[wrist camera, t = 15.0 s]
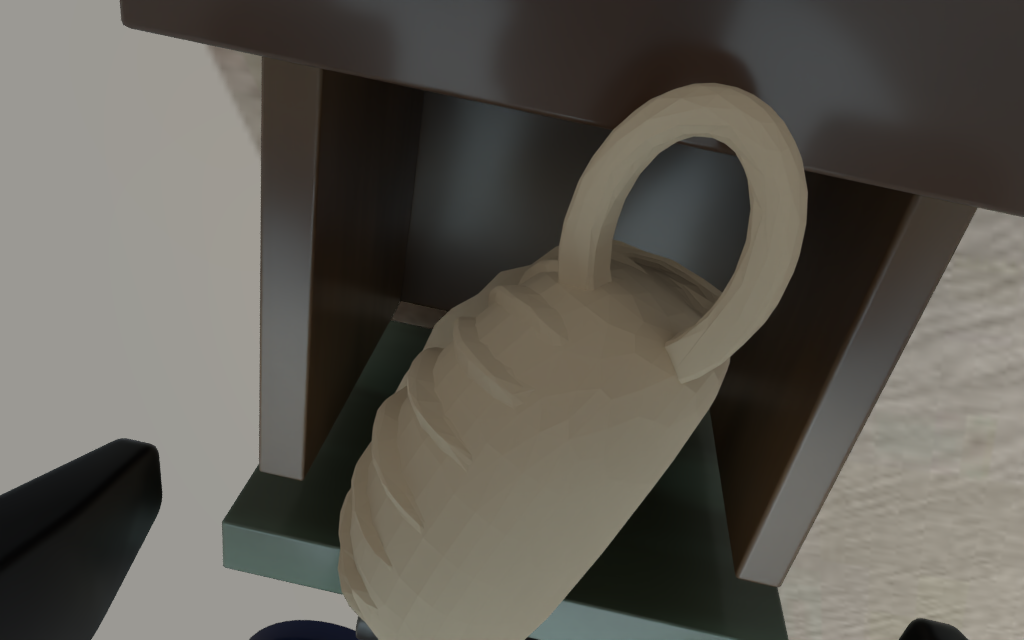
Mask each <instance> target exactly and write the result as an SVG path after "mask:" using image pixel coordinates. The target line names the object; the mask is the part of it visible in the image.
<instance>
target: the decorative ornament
mask: <svg viewBox="0 0 1024 640" xmlns="http://www.w3.org/2000/svg"><path fill="white" fill-rule="evenodd" d="M694 136H696V137H709V138H714V139H716V140H718V141H720V142H723V143H725V144H726V145H727V146H728V147H730V148H731V149H732V150H733V151H734V152H735V153H736V155H737V157H738V159H739V160H740V162H741V164H742V166H743V168H744V170H745V173H746V176H747V179H748V188H749V198H750V208H751V210H750V216H749V223H748V230H747V237H746V242H745V245H744V248H743V250H742V253H741V256H740V259H739V261H738V264H737V267H736V270H735V272H734V274H733V276H732V278H731V279H730V281H729V283H728V284H727V286H726V288H725V289H724V291H723V293H722V292H721V291H720V290H718V289H717V288H715V287H714V286H713V285H711V284H710V283H709V282H707V281H706V280H704V279H703V278H701V277H700V276H698V275H696V274H695V273H693V272H691V271H690V270H688V269H687V268H685V267H683V266H682V265H680V264H678V263H677V262H675V261H673V260H671V259H668V258H665V257H662V256H658V255H655V254H652V253H649V252H646V251H643V250H640V249H638V248H636V247H633V246H631V245H629V244H626V243H624V242H621V241H618V240H613V236H614V232H615V229H616V225H617V221H618V218H619V216H620V213H621V210H622V207H623V204H624V202H625V199H626V197H627V196H628V194H629V192H630V190H631V189H632V187H633V185H634V184H635V182H636V180H637V178H638V177H639V175H640V174H641V173H642V171H643V170H644V169H645V168H646V167H647V166H648V165H649V164H650V163H651V162H652V160H653V159H654V158H655V157H656V156H657V155H658V154H659V153H660V152H662V151H663V150H665V149H667V148H668V147H670V146H671V145H673V144H674V143H676V142H678V141H681V140H684V139H687V138H690V137H694ZM807 200H808V190H807V184H806V179H805V173H804V167H803V161H802V157H801V155H800V152H799V150H798V147H797V145H796V142H795V140H794V138H793V137H792V135H791V133H790V131H789V130H788V128H787V126H786V124H785V122H784V121H783V120H782V119H781V118H780V117H779V116H778V114H777V113H776V112H775V111H774V110H773V109H772V108H771V107H770V106H769V105H768V104H766V103H765V102H763V101H762V100H761V99H759V98H758V97H756V96H755V95H753V94H751V93H749V92H747V91H744V90H742V89H740V88H738V87H733V86H728V85H723V84H718V83H698V84H691V85H687V86H684V87H680V88H677V89H673V90H671V91H669V92H666V93H664V94H662V95H659V96H657V97H655V98H652V99H650V100H649V101H647V102H646V103H645V104H643V105H642V106H640V107H639V108H638V109H636V110H635V111H634V112H633V113H631V114H630V115H629V116H628V117H627V118H626V119H625V120H624V121H623V122H621V123H620V124H619V125H618V126H617V127H616V128H615V129H614V130H613V131H612V132H611V133H610V135H609V136H608V137H607V138H606V140H605V141H604V142H603V144H602V145H601V146H600V147H599V149H598V150H597V151H596V153H595V154H594V155H593V157H592V158H591V160H590V162H589V163H588V165H587V167H586V169H585V170H584V172H583V174H582V176H581V178H580V179H579V181H578V184H577V186H576V189H575V192H574V195H573V197H572V200H571V203H570V205H569V208H568V211H567V213H566V216H565V219H564V223H563V228H562V233H561V238H560V243H559V246H556V247H555V248H553V249H552V250H551V251H549V252H548V253H547V254H545V255H544V256H542V257H541V258H540V259H538V260H537V261H536V262H534V263H533V264H531V265H528V266H524V267H519V268H515V269H510V270H506V271H502V272H500V273H499V274H498V275H497V276H496V277H495V278H494V279H493V280H492V281H491V282H490V283H489V284H488V285H487V286H486V287H485V288H484V289H483V290H482V291H481V292H480V293H479V294H477V295H476V296H474V297H472V298H470V299H468V300H466V301H465V302H463V303H461V304H459V305H457V306H456V307H454V308H452V309H451V310H450V311H449V312H448V313H447V314H446V315H445V316H444V317H442V318H441V319H440V320H439V321H438V322H437V323H436V324H435V326H434V328H433V330H432V332H431V334H430V336H429V338H428V340H427V342H426V345H425V347H424V349H423V351H422V352H421V353H419V354H418V356H417V357H416V358H415V359H414V360H413V362H412V364H411V367H410V369H409V370H408V371H407V373H406V374H405V375H404V377H403V379H402V381H401V383H400V385H399V387H398V388H397V390H396V392H395V394H393V395H392V396H390V397H389V398H387V399H386V400H385V401H384V402H383V404H382V405H381V406H380V407H379V409H378V410H377V413H376V417H375V421H374V425H373V433H372V441H371V442H370V444H369V445H368V447H367V448H366V450H365V451H364V453H363V454H362V456H361V457H360V459H359V460H358V462H357V464H356V466H355V469H354V473H353V476H352V479H351V489H350V490H349V492H348V493H347V495H346V497H345V500H344V503H343V506H342V509H341V512H340V522H339V539H340V546H341V548H340V555H339V562H338V573H339V579H340V585H341V591H342V593H343V595H344V597H345V599H346V600H347V602H348V604H349V606H350V607H351V608H352V609H353V610H354V612H355V613H356V614H357V615H358V616H359V617H360V618H361V619H362V620H363V621H365V623H366V624H367V625H368V626H369V628H370V629H371V630H372V632H373V633H374V634H375V636H376V637H377V638H378V640H525V639H526V638H527V637H528V636H529V635H530V634H531V633H532V632H533V631H535V630H536V629H537V628H538V627H539V626H540V625H541V624H542V623H543V622H544V621H545V620H546V619H547V618H548V617H549V616H550V615H551V614H552V612H553V611H554V610H555V609H556V608H557V607H558V605H559V604H560V603H561V602H562V601H563V599H564V598H565V597H566V596H567V595H568V594H569V592H570V591H571V590H572V589H573V588H574V586H575V585H576V584H577V583H578V582H579V580H580V579H581V578H582V577H583V576H584V574H585V573H586V572H587V571H588V570H589V568H590V567H591V566H592V565H593V564H594V563H595V561H596V560H597V559H598V558H599V557H600V555H601V554H602V553H603V552H604V550H605V549H606V548H607V547H608V545H609V544H610V543H611V541H612V540H613V539H614V538H615V536H616V535H617V534H618V532H619V531H620V530H621V528H622V527H623V526H624V525H625V523H626V522H627V521H628V519H629V518H630V517H631V516H632V514H633V513H634V512H635V510H636V509H637V508H638V506H639V505H640V504H641V503H642V501H643V500H644V499H645V497H646V496H647V495H648V494H649V492H650V491H651V490H652V488H653V487H654V486H655V484H656V483H657V482H658V480H659V479H660V478H661V476H662V475H663V474H664V472H665V471H666V470H667V468H668V467H669V466H670V464H671V463H672V462H673V460H674V459H675V458H676V456H677V455H678V453H679V452H680V450H681V449H682V447H683V446H684V444H685V443H686V442H687V440H688V439H689V437H690V436H691V434H692V433H693V431H694V430H695V429H696V427H697V426H698V424H699V423H700V421H701V420H702V418H703V417H704V416H705V414H706V413H707V411H708V410H709V408H710V406H711V405H712V403H713V401H714V400H715V398H716V396H717V394H718V391H719V389H720V386H721V384H722V382H723V379H724V377H725V374H726V372H727V369H728V366H729V363H730V356H731V355H732V354H734V353H735V352H736V351H737V350H738V349H739V348H740V347H741V346H743V345H744V344H745V343H746V342H747V341H748V340H749V339H750V338H751V337H752V336H753V335H754V334H755V333H756V332H757V331H758V330H759V328H760V327H761V326H762V325H763V324H764V323H765V322H766V321H767V319H768V318H769V316H770V315H771V313H772V312H773V311H774V309H775V308H776V306H777V305H778V303H779V301H780V299H781V297H782V295H783V293H784V291H785V289H786V287H787V285H788V283H789V281H790V279H791V277H792V275H793V273H794V270H795V267H796V264H797V261H798V259H799V256H800V251H801V246H802V242H803V237H804V232H805V228H806V220H807Z"/></svg>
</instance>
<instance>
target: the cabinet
mask: <svg viewBox="0 0 1024 640" xmlns="http://www.w3.org/2000/svg"><path fill="white" fill-rule="evenodd" d="M120 8H121V20H122V22H123V25H125V26H127V27H129V28H131V29H137V30H141V31H146V32H151V33H155V34H160V35H165V36H170V37H174V38H179V39H184V40H188V41H193V42H198V43H202V44H207V45H212V46H217V47H221V48H226V49H231V50H235V51H240V52H245V53H250V54H254V55H259V56H264V57H269V58H273V59H278V60H283V61H287V62H292V63H297V64H302V65H306V66H311V67H316V68H321V69H325V70H330V71H335V72H339V73H344V74H349V75H354V76H358V77H363V78H368V79H373V80H377V81H382V82H387V83H392V84H396V85H401V86H406V87H410V88H415V89H420V90H425V91H429V92H434V93H439V94H444V95H448V96H453V97H458V98H462V99H467V100H472V101H477V102H481V103H486V104H491V105H496V106H500V107H505V108H510V109H514V110H519V111H524V112H529V113H533V114H538V115H543V116H548V117H552V118H557V119H562V120H566V121H571V122H576V123H581V124H585V125H590V126H595V127H600V128H604V129H609V130H614V129H615V128H616V127H617V126H618V125H619V124H620V123H621V122H623V121H624V120H625V119H626V118H627V117H628V116H629V115H630V114H631V113H633V112H634V111H635V110H636V109H638V108H639V107H640V106H642V105H643V104H645V103H646V102H647V101H649V100H650V99H652V98H655V97H657V96H659V95H662V94H664V93H666V92H669V91H671V90H673V89H677V88H680V87H684V86H687V85H691V84H698V83H718V84H723V85H728V86H733V87H738V88H740V89H742V90H744V91H747V92H749V93H751V94H753V95H755V96H756V97H758V98H759V99H761V100H762V101H763V102H765V103H766V104H768V105H769V106H770V107H771V108H772V109H773V110H774V111H775V112H776V113H777V114H778V116H779V117H780V118H781V119H782V120H783V121H784V122H785V124H786V126H787V128H788V130H789V131H790V133H791V135H792V137H793V138H794V140H795V142H796V145H797V147H798V150H799V152H800V155H801V157H802V161H803V167H804V171H808V172H812V173H817V174H822V175H826V176H831V177H836V178H841V179H845V180H850V181H855V182H860V183H864V184H869V185H874V186H878V187H883V188H888V189H893V190H897V191H902V192H907V193H912V194H916V195H921V196H926V197H930V198H935V199H940V200H945V201H949V202H954V203H959V204H964V205H968V206H973V207H978V208H982V209H987V210H992V211H997V212H1001V213H1006V214H1011V215H1016V216H1020V217H1024V0H120ZM675 144H680V145H685V146H689V147H694V148H699V149H704V150H708V151H713V152H718V153H722V154H727V155H732V156H737V155H736V153H735V152H734V151H733V150H732V149H731V148H730V147H728V146H727V145H726V144H725V143H723V142H720V141H718V140H716V139H714V138H709V137H696V136H694V137H690V138H687V139H684V140H681V141H678V142H676V143H675Z"/></svg>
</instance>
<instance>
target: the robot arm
mask: <svg viewBox="0 0 1024 640" xmlns="http://www.w3.org/2000/svg"><path fill="white" fill-rule="evenodd" d="M161 502H162V485H161V473H160V462H159V453H158V450H157V448H156V447H155V446H154V445H152V444H149V443H145V442H140V441H136V440H131V439H126V438H124V439H123V438H122V439H118V440H115V441H113V442H110V443H108V444H106V445H104V446H102V447H100V448H98V449H96V450H94V451H92V452H89V453H87V454H85V455H83V456H81V457H79V458H77V459H75V460H73V461H71V462H69V463H67V464H65V465H63V466H60V467H58V468H56V469H54V470H52V471H50V472H48V473H46V474H44V475H42V476H40V477H37V478H35V479H33V480H31V481H29V482H27V483H25V484H23V485H21V486H19V487H17V488H15V489H13V490H11V491H8V492H6V493H4V494H2V495H0V640H91V639H92V637H93V636H94V634H95V632H96V631H97V629H98V627H99V625H100V624H101V622H102V620H103V618H104V616H105V615H106V613H107V611H108V609H109V607H110V605H111V603H112V601H113V599H114V597H115V596H116V594H117V592H118V590H119V588H120V586H121V584H122V582H123V580H124V578H125V576H126V574H127V572H128V571H129V569H130V567H131V565H132V563H133V561H134V559H135V557H136V555H137V553H138V551H139V549H140V547H141V546H142V544H143V542H144V540H145V538H146V536H147V534H148V532H149V530H150V528H151V526H152V524H153V522H154V521H155V519H156V517H157V514H158V512H159V509H160V506H161ZM899 640H968V639H967V638H966V637H965V636H964V635H963V634H962V633H961V632H960V631H959V630H958V629H957V628H955V627H954V626H951V625H949V624H945V623H941V622H936V621H932V620H928V619H923V618H918V619H916V620H914V621H912V622H911V623H910V624H909V625H908V627H907V628H906V630H905V631H904V633H903V634H902V636H901V637H900V639H899Z"/></svg>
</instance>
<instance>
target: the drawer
mask: <svg viewBox="0 0 1024 640" xmlns="http://www.w3.org/2000/svg"><path fill="white" fill-rule="evenodd" d="M612 131H613V130H609V129H604V128H600V127H595V126H590V125H585V124H581V123H576V122H571V121H566V120H562V119H557V118H552V117H548V116H543V115H538V114H533V113H529V112H524V111H519V110H514V109H510V108H505V107H500V106H496V105H491V104H486V103H481V102H477V101H472V100H467V99H462V98H458V97H453V96H448V95H444V94H439V93H434V92H429V91H425V90H420V89H415V88H410V87H406V86H401V85H396V84H392V83H387V82H382V81H377V80H373V79H368V78H363V77H358V76H354V75H349V74H344V73H339V72H335V71H330V70H325V69H321V68H316V67H311V66H306V65H302V64H297V63H292V62H287V61H283V60H278V59H273V58H269V57H264V56H262V119H261V269H260V270H261V271H260V272H261V273H260V421H259V423H260V424H259V428H260V429H259V430H260V431H259V436H260V437H259V465H258V466H257V468H256V469H255V471H254V473H253V474H252V476H251V477H250V479H249V480H248V482H247V484H246V485H245V487H244V489H243V490H242V491H241V493H240V495H239V496H238V498H237V499H236V501H235V502H234V504H233V506H232V507H231V509H230V510H229V512H228V514H227V515H226V517H225V518H224V520H223V521H222V535H223V566H224V567H225V568H230V569H234V570H238V571H243V572H247V573H251V574H256V575H260V576H264V577H269V578H273V579H277V580H282V581H286V582H290V583H295V584H299V585H304V586H308V587H313V588H317V589H321V590H325V591H330V592H334V593H338V594H343V593H342V591H341V585H340V579H339V573H338V562H339V555H340V548H341V546H340V539H339V522H340V512H341V509H342V506H343V503H344V500H345V497H346V495H347V493H348V492H349V490H350V489H351V479H352V476H353V473H354V469H355V466H356V464H357V462H358V460H359V459H360V457H361V456H362V454H363V453H364V451H365V450H366V448H367V447H368V445H369V444H370V442H371V441H372V433H373V425H374V421H375V417H376V413H377V410H378V409H379V407H380V406H381V405H382V404H383V402H384V401H385V400H386V399H387V398H389V397H390V396H392V395H393V394H395V392H396V390H397V388H398V387H399V385H400V383H401V381H402V379H403V377H404V375H405V374H406V373H407V371H408V370H409V369H410V367H411V364H412V362H413V360H414V359H415V358H416V357H417V356H418V354H419V353H421V352H422V351H423V349H424V347H425V345H426V342H427V340H428V338H429V336H430V334H431V332H432V330H433V329H429V328H424V327H420V326H415V325H410V324H406V323H401V322H397V321H392V320H391V318H392V316H393V314H394V313H395V311H396V309H397V307H398V305H399V303H400V302H401V301H405V302H409V303H414V304H418V305H423V306H427V307H432V308H437V309H441V310H446V311H450V310H451V309H452V308H454V307H456V306H457V305H459V304H461V303H463V302H465V301H466V300H468V299H470V298H472V297H474V296H476V295H477V294H479V293H480V292H481V291H482V290H483V289H484V288H485V287H486V286H487V285H488V284H489V283H490V282H491V281H492V280H493V279H494V278H495V277H496V276H497V275H498V274H499V273H500V272H502V271H506V270H510V269H515V268H519V267H524V266H528V265H531V264H533V263H534V262H536V261H537V260H538V259H540V258H541V257H542V256H544V255H545V254H547V253H548V252H549V251H551V250H552V249H553V248H555V247H556V246H559V243H560V238H561V233H562V228H563V223H564V219H565V216H566V213H567V211H568V208H569V205H570V203H571V200H572V197H573V195H574V192H575V189H576V186H577V184H578V181H579V179H580V178H581V176H582V174H583V172H584V170H585V169H586V167H587V165H588V163H589V162H590V160H591V158H592V157H593V155H594V154H595V153H596V151H597V150H598V149H599V147H600V146H601V145H602V144H603V142H604V141H605V140H606V138H607V137H608V136H609V135H610V133H611V132H612ZM804 173H805V179H806V184H807V190H808V200H807V220H806V228H805V232H804V237H803V242H802V246H801V251H800V256H799V259H798V261H797V264H796V267H795V270H794V273H793V275H792V277H791V279H790V281H789V283H788V285H787V287H786V289H785V291H784V293H783V295H782V297H781V299H780V301H779V303H778V305H777V306H776V308H775V309H774V311H773V312H772V313H771V315H770V316H769V318H768V319H767V321H766V322H765V323H764V324H763V325H762V326H761V327H760V328H759V330H758V331H757V332H756V333H755V334H754V335H753V336H752V337H751V338H750V339H749V340H748V341H747V342H746V343H745V344H744V345H743V346H741V347H740V348H739V349H738V350H737V351H736V352H735V353H734V354H732V355H731V356H730V363H729V366H728V369H727V372H726V374H725V377H724V379H723V382H722V384H721V386H720V389H719V391H718V394H717V396H716V398H715V400H714V401H713V403H712V405H711V406H710V408H709V410H708V411H707V413H706V414H705V416H704V417H703V418H702V420H701V421H700V423H699V424H698V426H697V427H696V429H695V430H694V431H693V433H692V434H691V436H690V437H689V439H688V440H687V442H686V443H685V444H684V446H683V447H682V449H681V450H680V452H679V453H678V455H677V456H676V458H675V459H674V460H673V462H672V463H671V464H670V466H669V467H668V468H667V470H666V471H665V472H664V474H663V475H662V476H661V478H660V479H659V480H658V482H657V483H656V484H655V486H654V487H653V488H652V490H651V491H650V492H649V494H648V495H647V496H646V497H645V499H644V500H643V501H642V503H641V504H640V505H639V506H638V508H637V509H636V510H635V512H634V513H633V514H632V516H631V517H630V518H629V519H628V521H627V522H626V523H625V525H624V526H623V527H622V528H621V530H620V531H619V532H618V534H617V535H616V536H615V538H614V539H613V540H612V541H611V543H610V544H609V545H608V547H607V548H606V549H605V550H604V552H603V553H602V554H601V555H600V557H599V558H598V559H597V560H596V561H595V563H594V564H593V565H592V566H591V567H590V568H589V570H588V571H587V572H586V573H585V574H584V576H583V577H582V578H581V579H580V580H579V582H578V583H577V584H576V585H575V586H574V588H573V589H572V590H571V591H570V592H569V594H568V595H567V596H566V597H565V598H564V599H563V601H562V602H561V603H560V604H559V605H558V607H557V608H556V609H555V610H554V611H553V612H552V614H551V615H550V616H549V617H548V618H547V619H546V620H545V621H544V622H543V623H542V624H541V625H540V626H539V627H538V628H537V629H536V630H535V631H533V632H532V633H531V634H530V635H529V636H528V637H527V638H526V639H525V640H788V635H787V631H786V626H785V621H784V616H783V612H782V607H781V602H780V598H779V593H778V588H777V587H780V586H781V584H782V583H783V581H784V579H785V577H786V575H787V573H788V571H789V569H790V567H791V565H792V563H793V561H794V559H795V558H796V556H797V554H798V552H799V550H800V548H801V546H802V544H803V542H804V540H805V538H806V536H807V535H808V533H809V531H810V529H811V527H812V525H813V523H814V521H815V519H816V517H817V515H818V513H819V511H820V510H821V508H822V506H823V504H824V502H825V500H826V498H827V496H828V494H829V492H830V490H831V488H832V486H833V485H834V483H835V481H836V479H837V477H838V475H839V473H840V471H841V469H842V467H843V465H844V463H845V461H846V460H847V458H848V456H849V454H850V452H851V450H852V448H853V446H854V444H855V442H856V440H857V438H858V436H859V435H860V433H861V431H862V429H863V427H864V425H865V423H866V421H867V419H868V417H869V415H870V413H871V411H872V410H873V408H874V406H875V404H876V402H877V400H878V398H879V396H880V394H881V392H882V390H883V388H884V386H885V385H886V383H887V381H888V379H889V377H890V375H891V373H892V371H893V369H894V367H895V365H896V363H897V361H898V360H899V358H900V356H901V354H902V352H903V350H904V348H905V346H906V344H907V342H908V340H909V338H910V336H911V335H912V333H913V331H914V329H915V327H916V325H917V323H918V321H919V319H920V317H921V315H922V313H923V311H924V310H925V308H926V306H927V304H928V302H929V300H930V298H931V296H932V294H933V292H934V290H935V288H936V286H937V285H938V283H939V281H940V279H941V277H942V275H943V273H944V271H945V269H946V267H947V265H948V263H949V262H950V260H951V258H952V256H953V254H954V252H955V250H956V248H957V246H958V244H959V242H960V240H961V238H962V237H963V235H964V233H965V231H966V229H967V227H968V225H969V223H970V221H971V219H972V217H973V215H974V213H975V212H976V210H977V208H978V207H973V206H968V205H964V204H959V203H954V202H949V201H945V200H940V199H935V198H930V197H926V196H921V195H916V194H912V193H907V192H902V191H897V190H893V189H888V188H883V187H878V186H874V185H869V184H864V183H860V182H855V181H850V180H845V179H841V178H836V177H831V176H826V175H822V174H817V173H812V172H808V171H804ZM750 210H751V208H750V198H749V188H748V179H747V176H746V173H745V170H744V168H743V166H742V164H741V162H740V160H739V159H738V157H737V156H732V155H727V154H722V153H718V152H713V151H708V150H704V149H699V148H694V147H689V146H685V145H680V144H675V143H674V144H673V145H671V146H670V147H668V148H667V149H665V150H663V151H662V152H660V153H659V154H658V155H657V156H656V157H655V158H654V159H653V160H652V162H651V163H650V164H649V165H648V166H647V167H646V168H645V169H644V170H643V171H642V173H641V174H640V175H639V177H638V178H637V180H636V182H635V184H634V185H633V187H632V189H631V190H630V192H629V194H628V196H627V197H626V199H625V202H624V204H623V207H622V210H621V213H620V216H619V218H618V221H617V225H616V229H615V232H614V236H613V240H618V241H621V242H624V243H626V244H629V245H631V246H633V247H636V248H638V249H640V250H643V251H646V252H649V253H652V254H655V255H658V256H662V257H665V258H668V259H671V260H673V261H675V262H677V263H678V264H680V265H682V266H683V267H685V268H687V269H688V270H690V271H691V272H693V273H695V274H696V275H698V276H700V277H701V278H703V279H704V280H706V281H707V282H709V283H710V284H711V285H713V286H714V287H715V288H717V289H718V290H720V291H721V292H722V293H723V291H724V289H725V288H726V286H727V284H728V283H729V281H730V279H731V278H732V276H733V274H734V272H735V270H736V267H737V264H738V261H739V259H740V256H741V253H742V250H743V248H744V245H745V242H746V237H747V230H748V223H749V216H750ZM356 637H357V638H358V639H361V640H378V638H377V637H376V636H375V634H374V633H373V632H372V630H371V629H370V628H369V626H368V625H367V624H366V623H365V621H363V620H362V619H361V618H360V617H359V616H358V620H357V626H356Z"/></svg>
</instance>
